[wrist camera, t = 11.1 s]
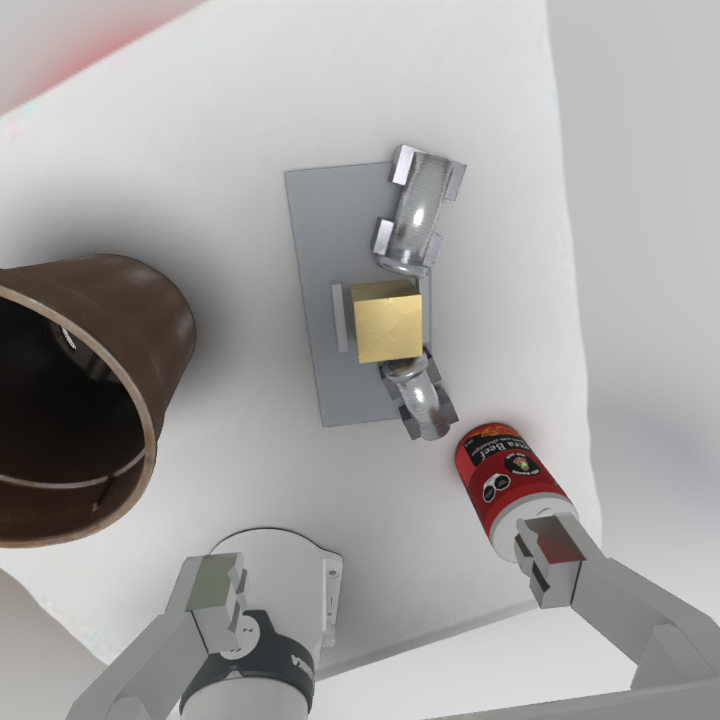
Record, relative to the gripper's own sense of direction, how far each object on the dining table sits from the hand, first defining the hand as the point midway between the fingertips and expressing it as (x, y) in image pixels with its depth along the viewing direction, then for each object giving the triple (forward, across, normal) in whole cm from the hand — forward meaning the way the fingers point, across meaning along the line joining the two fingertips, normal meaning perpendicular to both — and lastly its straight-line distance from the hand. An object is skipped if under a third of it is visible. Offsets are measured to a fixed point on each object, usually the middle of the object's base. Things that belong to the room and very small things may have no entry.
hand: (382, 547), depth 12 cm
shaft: (+26, -6, +8) cm, 28 cm away
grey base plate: (+25, -2, +1) cm, 26 cm away
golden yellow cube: (+24, -3, +1) cm, 25 cm away
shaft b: (+24, -6, -7) cm, 26 cm away
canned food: (+26, -14, +18) cm, 35 cm away
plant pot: (+26, +19, 0) cm, 32 cm away
